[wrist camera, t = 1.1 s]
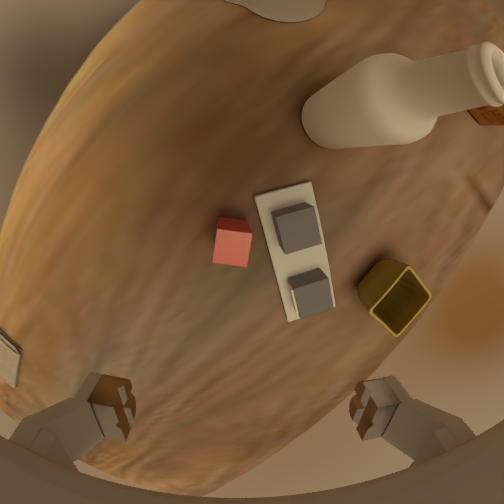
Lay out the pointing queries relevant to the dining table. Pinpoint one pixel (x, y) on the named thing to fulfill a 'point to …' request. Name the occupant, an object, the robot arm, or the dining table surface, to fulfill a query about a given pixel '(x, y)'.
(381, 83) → the alcohol
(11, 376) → the washcloth
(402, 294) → the flower pot
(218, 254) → the tall red square pillar
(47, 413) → the robot arm
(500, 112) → the coffee package
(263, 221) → the grey cubes on base
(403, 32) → the dining table surface
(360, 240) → the dining table surface
